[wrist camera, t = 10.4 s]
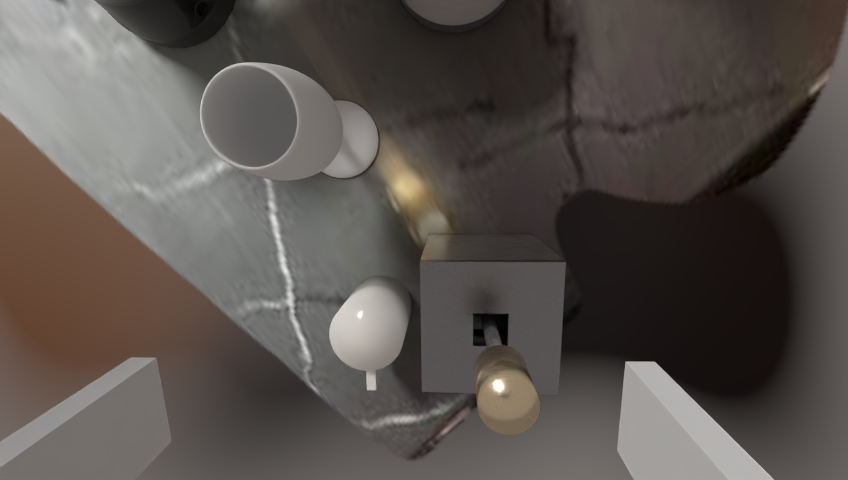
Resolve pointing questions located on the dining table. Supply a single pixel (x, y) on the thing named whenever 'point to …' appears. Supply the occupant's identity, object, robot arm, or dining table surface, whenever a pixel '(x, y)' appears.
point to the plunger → (503, 381)
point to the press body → (489, 306)
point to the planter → (453, 13)
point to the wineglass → (284, 124)
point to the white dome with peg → (372, 326)
